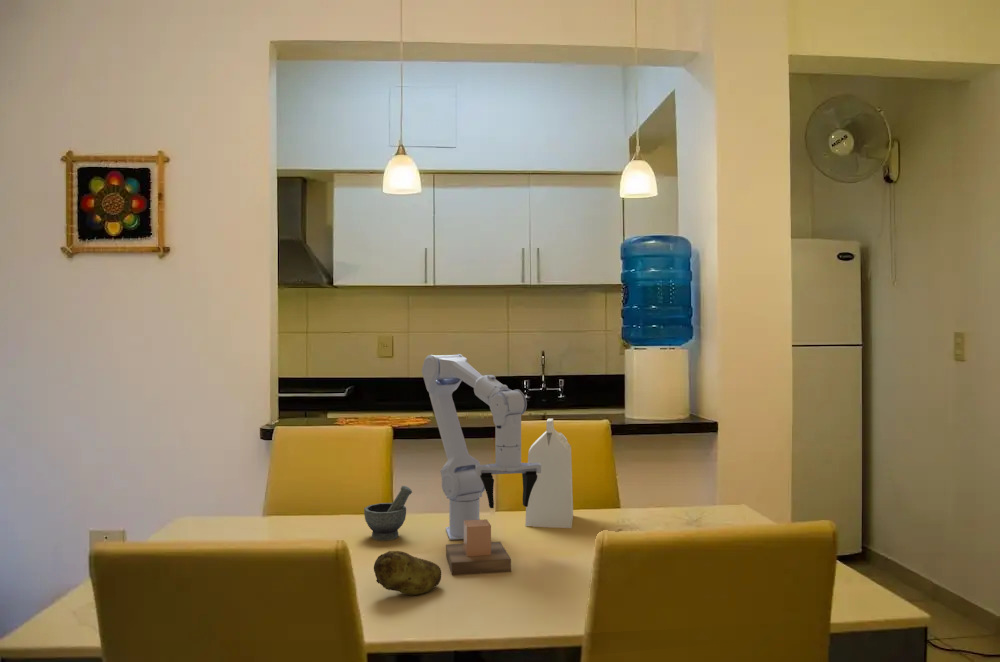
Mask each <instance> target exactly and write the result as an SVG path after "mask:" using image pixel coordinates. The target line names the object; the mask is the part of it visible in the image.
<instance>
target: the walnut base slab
mask: <svg viewBox="0 0 1000 662" xmlns="http://www.w3.org/2000/svg"><path fill="white" fill-rule="evenodd" d="M445 558H446V561H447V563H448V564H447V565H448V568H449V571H450V574H451V576H456V575H459V576H461V575H475V574H489V573H490V574H491V573H492V574H493V573H505V572H507V573H509V572H512V558H511V556H510V555H509V553H508V552H507V550H506V549H505V547H504V545H503V544H502V542H501V541H491V555H479V556H467V555H466V553H465V551H464V543H453V544H452V543H451V544H445ZM460 574H461V575H460Z"/></svg>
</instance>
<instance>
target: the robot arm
mask: <svg viewBox="0 0 1000 662" xmlns="http://www.w3.org/2000/svg"><path fill="white" fill-rule="evenodd" d="M421 374H422V377H423V381H424V384H425V388H426V390H427V392H428V394H429V395H428V396H429V398H430V402H431V407H432V411H433V412H434V418H435V420H436V424H437V427H438V431H439V435H440V438H441V441H442V442H441V443H442V445H443V448H444V452H445V456H446V459H447V461H446V462H445V464H444V465H443V466H442V468H441V469H440V470H439V471H440V474H441V475H440V476H441V488H442V492H443V493H444V495H445V496H446V499H449V500H448V501H449V505H448V506H449V511H448V512H449V515H448V516H449V517H448V518H449V526H446V527H445V531H446V534H447V536H448V539H449V541H452V540H453V541H454V540H464V521H465V520H481V519H480V518H481V517H480V498H482V497H483V493H484V492H486V496H487V500H488V507H489V508H490V509H494V508H495V507H494V505H495V503H494V502H495V501H494V482H495V479H494V477H493V475H506V474H507V475H510V474H511V475H512V474H521V475H522V476H521V477H522V506H524V507H525V508H526V507H528V501H529V497H530V494H531V491H532V488H533V486H534V484H535V482H536V480H537V474H536V473H541V464H540V463H528V462H522V416H523V414H525V412H526V410H527V406H528V403H527V402H528V401H527V398H526V395H525V394H524V393H523V392H522V390H520V389H513V390H512V389H510V388H509V387H508V385H507V384H503V383H501V382H500V381H499V380H498V379H496V378H497V377H496V376H495V375H494V374H486V375H482V374H481V373H480V372H479V371H477V369H476V368H474V367H473V366H472V365H471V364H470V363H469V362H468V358H467V357H465V356H463V355H462V354H461V353H457V354H441V355H440V354H439V355H438V354H437V355H434V354H429V355H427V356H426V357H425V358H424V360H423V364H422V368H421ZM462 382H464V383H465V384H466V385H468V386H470V387H471V388H473V392H474V393H473V394H474V396H476V397H477V398H478V399H479V400H481V401H483V402H484V403H485V404H486V405H488V406H489V410H490V412H491V414H492V422H493V425H495V431H494V432H495V439H494V440H495V463H488V464H487V463H486V464H480V460H478V459H477V458H475V457H473V456H472V455H470V454H469V450H468V447H467V443H466V440H465V436H464V433H463V430H462V426H461V423H460V420H459V417H458V416H459V415H458V413H457V409H456V405H455V402H454V400H453V399H454V398H453V393H454V392H455V391H456V390H457V389H458V388H459V387H460V384H461V383H462Z"/></svg>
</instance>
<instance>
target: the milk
mask: <svg viewBox="0 0 1000 662" xmlns="http://www.w3.org/2000/svg"><path fill="white" fill-rule="evenodd" d="M572 461H573V460H572V445H571V444H570V443H569V442H568V438H567V437H566V436H565V434H564V433H562V432H561V431H560V432H559V431H557V430H556V429H555V425H554V418H547V420H546V429H545V431H544V432H543V433H542V434H541V435H540V436H539V437H538V438H537V439H536V440H535V441H534V442H533V443H532V444H531V445H530V447H529V449H528V455H527V463H540V464H541V473H536V474H537V480H536V482H535V484H534V486H533V488H532V491H531V494H530V497H529V501H528V507H525V524H524V526H525V527H527V526H533V528H534V527H535V528H557V529H559V528H561V529H572V528H573V527H572V526H573V520H574V502H573V501H574V500H573V499H574V497H573V467H572V466H573V465H572V464H573V463H572Z"/></svg>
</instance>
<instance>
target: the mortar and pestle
mask: <svg viewBox="0 0 1000 662" xmlns="http://www.w3.org/2000/svg"><path fill="white" fill-rule="evenodd" d="M412 493H413V491H412V489H411V488H410V487H409V486H406V485H402V486H401V487H400V491H399V492H398V494H397V496H396V497H395V499H394V500H393V502H381V503H379V502H378V503H375V504H370V505H367V506H366V507H364V510H363V511H364V512H363V513H364V521H365V522H366V524H367V527H369V529H370V530H371V531H372V533H371V538H372V539H373V540H375V541H376V540H377V541H383V542H384V541H392V540H396V539H397V538H398V537H399V531H398V530H399V529H400V528H401V527H402V526H403V524H404V522H405V520H406V516H407V507H406V506H405V505H406V502H407V500H408V498H409V496H410V495H411V494H412Z"/></svg>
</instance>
